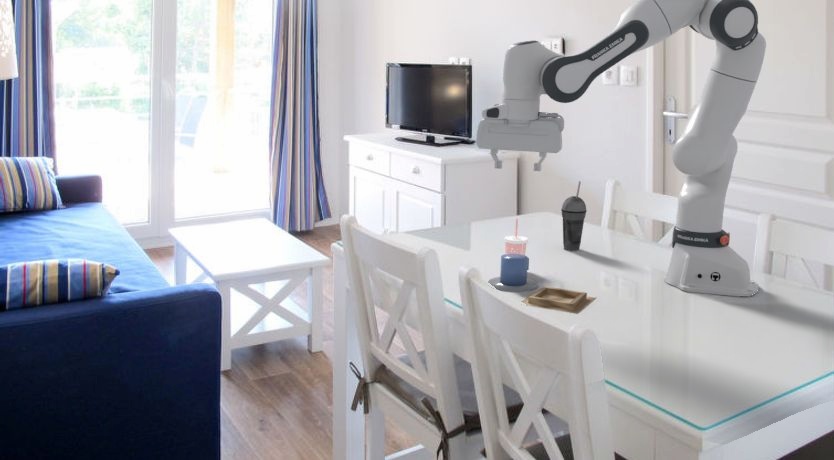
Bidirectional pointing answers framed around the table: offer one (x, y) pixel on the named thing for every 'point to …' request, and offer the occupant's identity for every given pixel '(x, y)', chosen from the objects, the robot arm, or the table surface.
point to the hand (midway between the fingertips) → (517, 169)
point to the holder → (559, 299)
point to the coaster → (528, 287)
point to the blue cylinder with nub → (514, 269)
